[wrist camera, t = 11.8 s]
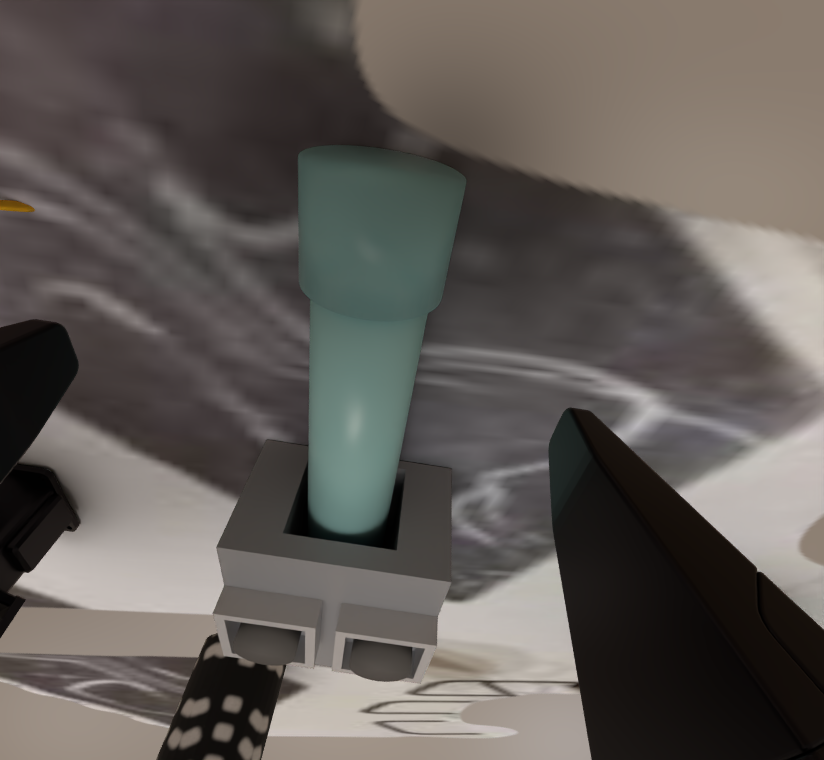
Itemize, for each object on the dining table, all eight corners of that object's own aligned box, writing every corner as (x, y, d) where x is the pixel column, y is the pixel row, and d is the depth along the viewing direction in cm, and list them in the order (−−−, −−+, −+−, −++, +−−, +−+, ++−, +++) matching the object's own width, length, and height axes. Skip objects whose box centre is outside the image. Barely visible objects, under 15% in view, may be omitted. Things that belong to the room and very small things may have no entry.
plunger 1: (245, 631, 25) (235, 660, 24) (240, 603, 23) (229, 634, 22) (302, 639, 25) (295, 669, 24) (302, 612, 23) (294, 643, 22)
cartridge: (394, 504, 28) (385, 584, 24) (313, 492, 28) (288, 570, 24) (464, 163, 16) (469, 205, 12) (321, 137, 16) (274, 170, 12)
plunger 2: (352, 646, 25) (347, 676, 24) (356, 620, 23) (351, 651, 22) (408, 654, 25) (406, 684, 24) (417, 629, 23) (415, 661, 22)
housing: (274, 552, 33) (229, 679, 27) (266, 439, 26) (202, 576, 19) (419, 573, 34) (411, 705, 27) (451, 468, 26) (451, 612, 20)
